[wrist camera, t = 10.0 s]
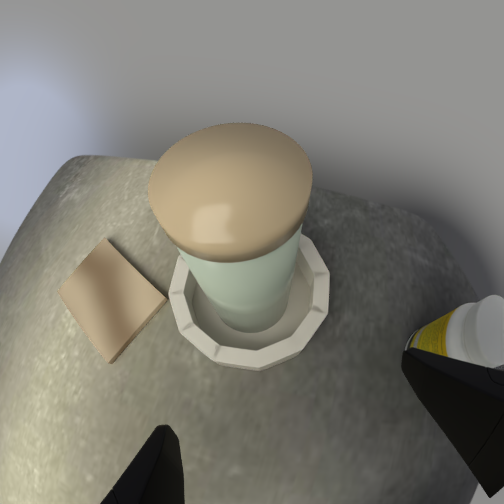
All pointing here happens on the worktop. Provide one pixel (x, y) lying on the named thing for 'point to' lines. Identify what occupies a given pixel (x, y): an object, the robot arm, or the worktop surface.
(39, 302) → the worktop surface
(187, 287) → the bowl
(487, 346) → the supplement bottle
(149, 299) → the cork coaster
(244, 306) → the spice jar
